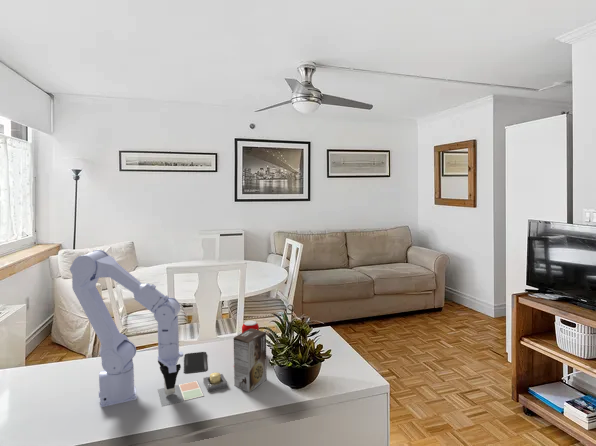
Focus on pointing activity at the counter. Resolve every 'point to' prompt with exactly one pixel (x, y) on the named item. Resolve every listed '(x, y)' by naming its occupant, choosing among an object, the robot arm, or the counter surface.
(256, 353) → the coffee box
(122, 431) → the counter surface
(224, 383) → the button collar
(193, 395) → the picture board
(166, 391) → the marker
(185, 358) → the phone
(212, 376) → the button
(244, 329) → the beverage can
